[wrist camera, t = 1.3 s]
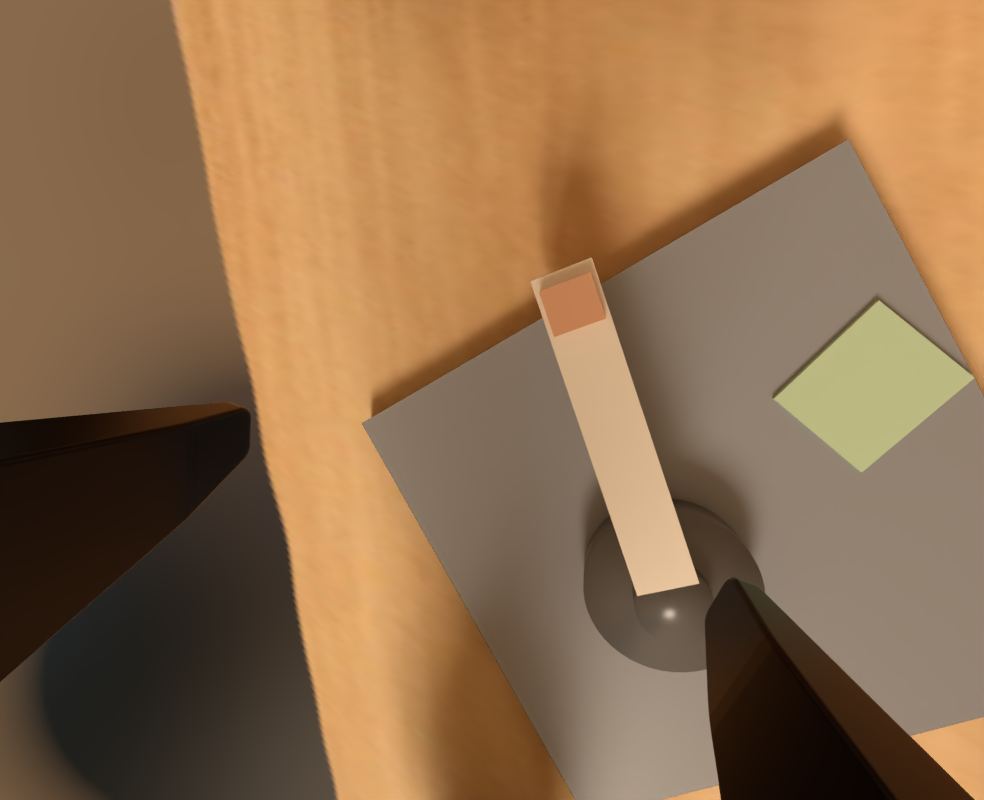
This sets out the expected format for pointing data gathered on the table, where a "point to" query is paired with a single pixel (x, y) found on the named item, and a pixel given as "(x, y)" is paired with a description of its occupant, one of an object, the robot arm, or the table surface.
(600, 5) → the table surface
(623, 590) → the beige bar with disc
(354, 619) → the table surface
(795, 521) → the grey mat
